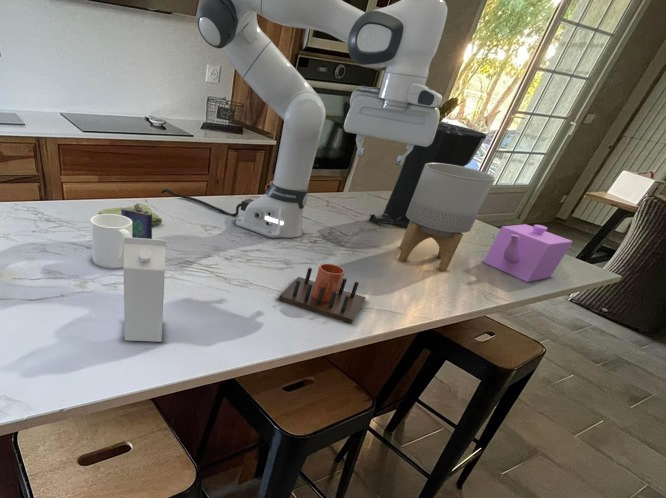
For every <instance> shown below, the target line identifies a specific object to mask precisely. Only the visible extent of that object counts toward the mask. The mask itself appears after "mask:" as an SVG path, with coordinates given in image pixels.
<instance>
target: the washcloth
mask: <svg viewBox="0 0 666 498" xmlns="http://www.w3.org/2000/svg"><path fill="white" fill-rule="evenodd" d="M139 207H140V208H141V209H142V210H144V211H145V210H146V211H148V212H149V213H151V214H152V227H154V226H159V225H160V224H162V223H163V218H162V217H160V216H159V215H158V214H157V213H156V212H153V211H152V209H151V208H150V207H149V206H148V205H146V204H142V205H141V204H140V205H139ZM122 208H131V209H135V207H134V206H130V205H129V206H124V207H121V206H120V207H112V208H103V209H101V210H100V211H98V212H97V215H101V214H116V215H121V209H122Z"/></svg>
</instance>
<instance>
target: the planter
mask: <svg viewBox="0 0 666 498" xmlns="http://www.w3.org/2000/svg"><path fill="white" fill-rule="evenodd" d="M495 180H496V177H495V176H494V175H492V174H490V173H488V172H485V171H483V170H478V169H475V168H471V167H467V166H464V167H462V166H457V165H451V164H444V163H426V164H425V166H424V168H423V171H422V173H421V176H420V179H419V181H418V184H417V187H416V189H415V192H414V194H413V197H412V200H411V202H410V205H409V208H408V210H407V213H406V217H407V218H408V219H409V220H410V222H409V224H408V227H407V228H405V229H406V230H405V232H404V234H403V238H402V239H401V242H400V245H399V248H400V249H401V251H400V253H399V255H398V258H397V259H398V261H400V262H407V260H408V258H409V256H410V254H411V253H412V252H413V251H414V249H415V248H416V247H417V246H418V245H419V244H420V243H422V242H423V241H425V240H427V239H432V240H434V241H435V242H436V244H437V247H438V252H437V254H436V257H438V258H439V259H440V262H439V265H438V268H437V269H438V270H439V271H441V272H446V271H447V270H448V268H449V266H450V264H451V262H452V259H453V257H454V255H455V253H456V251H457V249H458V247H459V245H460V243H461V240H462V239H463V236H464V233H468V232H470V231H471V230H472V229H473V226H474V224H475V221H476V220H477V218H478V215H479V213H480V211H481V209H482V206H483V205H484V203H485V201H486V199H487V197H488V194H489V193H490V190H491V188H492V186H493V184H494V182H495Z"/></svg>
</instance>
